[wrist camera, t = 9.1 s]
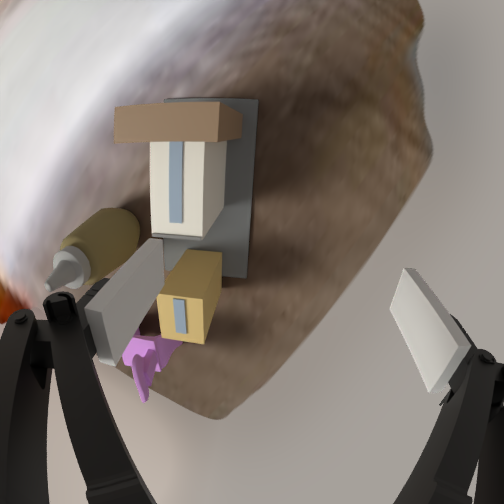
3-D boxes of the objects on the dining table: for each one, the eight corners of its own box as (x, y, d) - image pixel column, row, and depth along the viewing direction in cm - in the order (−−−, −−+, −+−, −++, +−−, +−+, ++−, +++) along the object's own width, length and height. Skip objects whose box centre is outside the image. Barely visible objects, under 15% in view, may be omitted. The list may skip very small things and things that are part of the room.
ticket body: (175, 113, 33) (114, 107, 19) (242, 114, 33) (219, 101, 19) (174, 204, 38) (119, 248, 24) (237, 208, 38) (213, 257, 24)
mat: (165, 99, 33) (163, 99, 33) (258, 99, 33) (258, 99, 32) (165, 268, 43) (165, 270, 42) (246, 277, 42) (246, 278, 42)
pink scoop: (129, 302, 46) (86, 361, 32) (178, 308, 45) (145, 375, 32) (137, 340, 49) (103, 400, 35) (183, 347, 49) (157, 414, 35)
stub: (186, 249, 40) (155, 294, 29) (222, 252, 40) (202, 300, 29) (187, 286, 43) (161, 338, 32) (221, 290, 43) (203, 345, 31)
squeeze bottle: (95, 236, 42) (21, 293, 25) (110, 191, 38) (25, 234, 22) (137, 262, 43) (74, 333, 26) (156, 217, 40) (85, 277, 23)
